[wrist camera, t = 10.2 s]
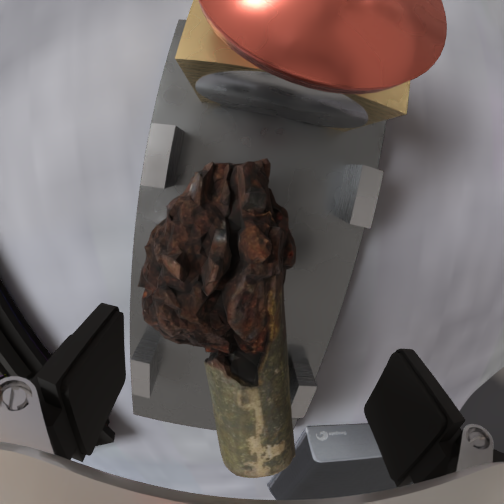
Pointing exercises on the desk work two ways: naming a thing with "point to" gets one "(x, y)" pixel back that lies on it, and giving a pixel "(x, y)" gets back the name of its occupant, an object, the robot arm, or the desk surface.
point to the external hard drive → (333, 465)
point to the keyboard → (25, 350)
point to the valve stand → (277, 157)
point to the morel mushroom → (230, 305)
